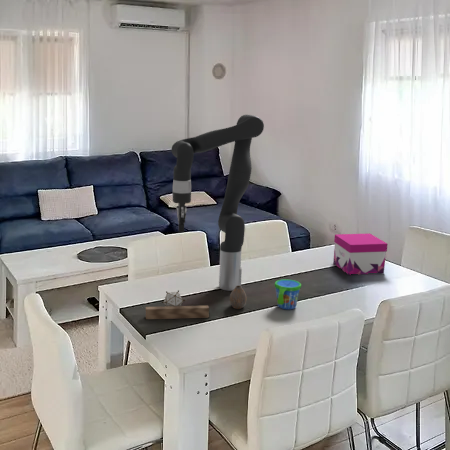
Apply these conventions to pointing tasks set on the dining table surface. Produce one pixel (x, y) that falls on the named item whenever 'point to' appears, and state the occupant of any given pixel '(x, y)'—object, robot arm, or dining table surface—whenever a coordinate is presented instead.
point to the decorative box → (359, 253)
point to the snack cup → (287, 293)
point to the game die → (173, 299)
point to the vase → (238, 298)
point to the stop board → (177, 312)
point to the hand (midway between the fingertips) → (181, 231)
